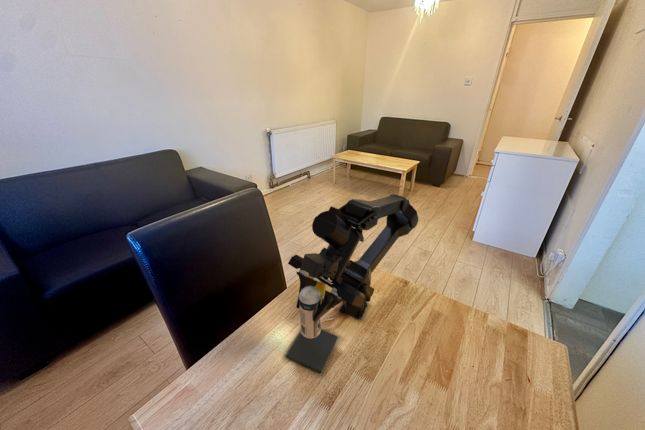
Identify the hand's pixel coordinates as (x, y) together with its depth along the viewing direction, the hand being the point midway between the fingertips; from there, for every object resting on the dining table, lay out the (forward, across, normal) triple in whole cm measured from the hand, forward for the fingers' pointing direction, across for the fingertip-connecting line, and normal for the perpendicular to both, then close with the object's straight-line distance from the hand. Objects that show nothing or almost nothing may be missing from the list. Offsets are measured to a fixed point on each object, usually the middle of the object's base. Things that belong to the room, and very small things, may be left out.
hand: (305, 314), depth 57 cm
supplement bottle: (-1, -11, +20) cm, 23 cm away
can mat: (+8, 0, +10) cm, 13 cm away
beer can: (+4, 0, +6) cm, 7 cm away
